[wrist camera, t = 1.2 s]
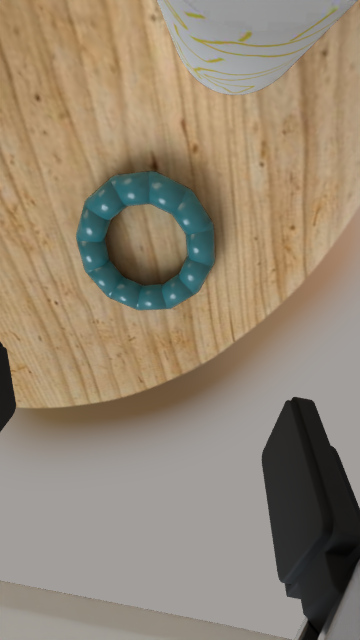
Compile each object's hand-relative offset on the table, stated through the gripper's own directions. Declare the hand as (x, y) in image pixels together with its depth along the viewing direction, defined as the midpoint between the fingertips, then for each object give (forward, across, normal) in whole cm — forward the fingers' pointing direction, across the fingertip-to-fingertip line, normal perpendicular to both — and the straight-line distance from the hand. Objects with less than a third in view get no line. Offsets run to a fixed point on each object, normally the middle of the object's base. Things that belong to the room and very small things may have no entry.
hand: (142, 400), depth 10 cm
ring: (+14, +3, 0) cm, 15 cm away
